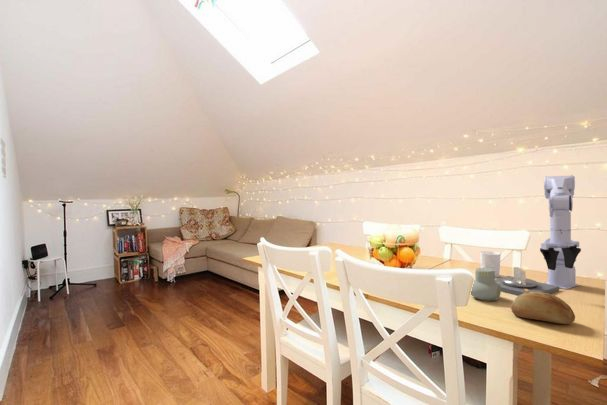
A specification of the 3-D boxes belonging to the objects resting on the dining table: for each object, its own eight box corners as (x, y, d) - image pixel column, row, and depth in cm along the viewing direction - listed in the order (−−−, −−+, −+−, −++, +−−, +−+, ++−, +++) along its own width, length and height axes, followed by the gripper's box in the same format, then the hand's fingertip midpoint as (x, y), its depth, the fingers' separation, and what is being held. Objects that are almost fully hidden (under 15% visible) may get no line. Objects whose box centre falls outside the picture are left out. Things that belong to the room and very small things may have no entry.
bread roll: (575, 332, 87) (575, 302, 87) (509, 320, 96) (508, 292, 96) (574, 320, 95) (574, 292, 94) (512, 310, 104) (512, 284, 103)
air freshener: (495, 305, 108) (495, 274, 108) (467, 300, 114) (467, 271, 114) (501, 296, 117) (501, 268, 116) (476, 292, 122) (475, 265, 122)
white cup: (481, 272, 150) (481, 250, 150) (501, 274, 145) (501, 252, 145) (478, 276, 144) (478, 253, 143) (499, 278, 139) (499, 255, 139)
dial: (498, 279, 132) (498, 265, 132) (530, 280, 129) (530, 266, 129) (508, 287, 121) (507, 272, 121) (542, 288, 118) (542, 273, 118)
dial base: (509, 279, 137) (509, 275, 137) (559, 290, 122) (559, 285, 122) (482, 286, 129) (481, 282, 129) (532, 299, 113) (532, 294, 113)
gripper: (554, 232, 110) (554, 273, 110) (588, 230, 113) (588, 269, 114) (535, 230, 117) (535, 268, 117) (567, 227, 120) (567, 265, 121)
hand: (560, 268), depth 116 cm, fingers open, 7 cm apart
